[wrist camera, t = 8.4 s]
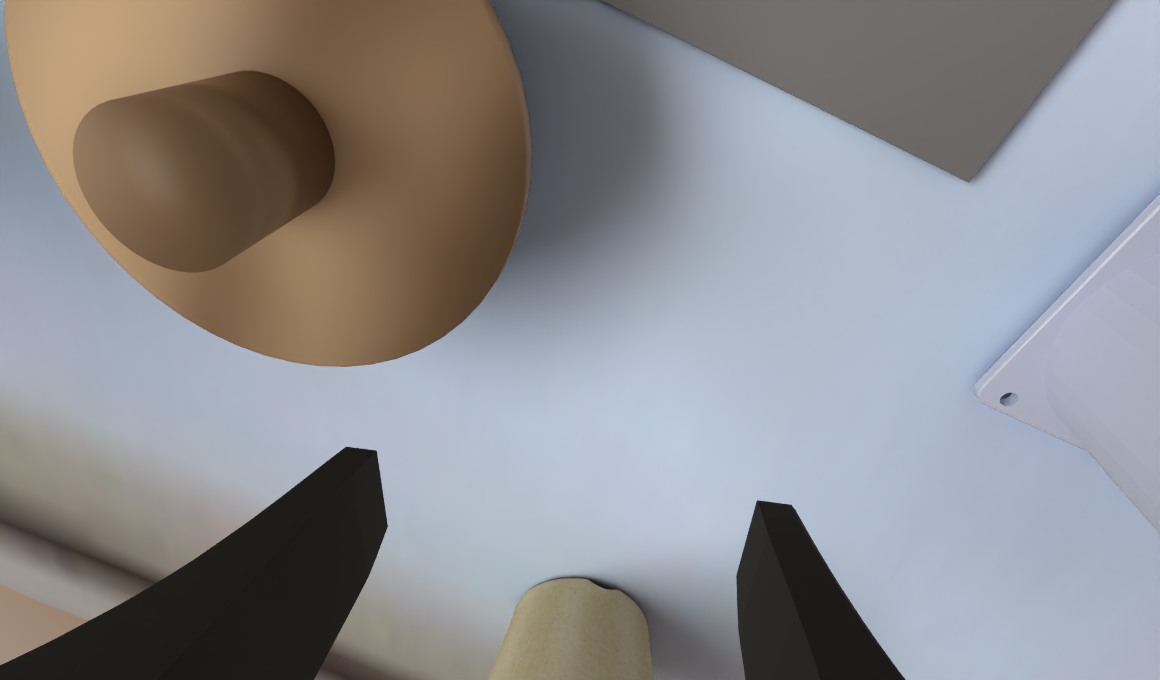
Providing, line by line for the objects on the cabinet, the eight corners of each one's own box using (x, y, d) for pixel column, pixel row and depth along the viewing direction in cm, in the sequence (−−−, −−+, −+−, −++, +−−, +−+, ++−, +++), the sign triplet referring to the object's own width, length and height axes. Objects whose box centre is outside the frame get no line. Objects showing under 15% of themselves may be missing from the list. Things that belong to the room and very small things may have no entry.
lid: (617, -11, 13) (594, -4, 9) (447, 412, 19) (392, 519, 15) (20, -313, 11) (-292, -449, 8) (47, 245, 17) (-120, 317, 14)
